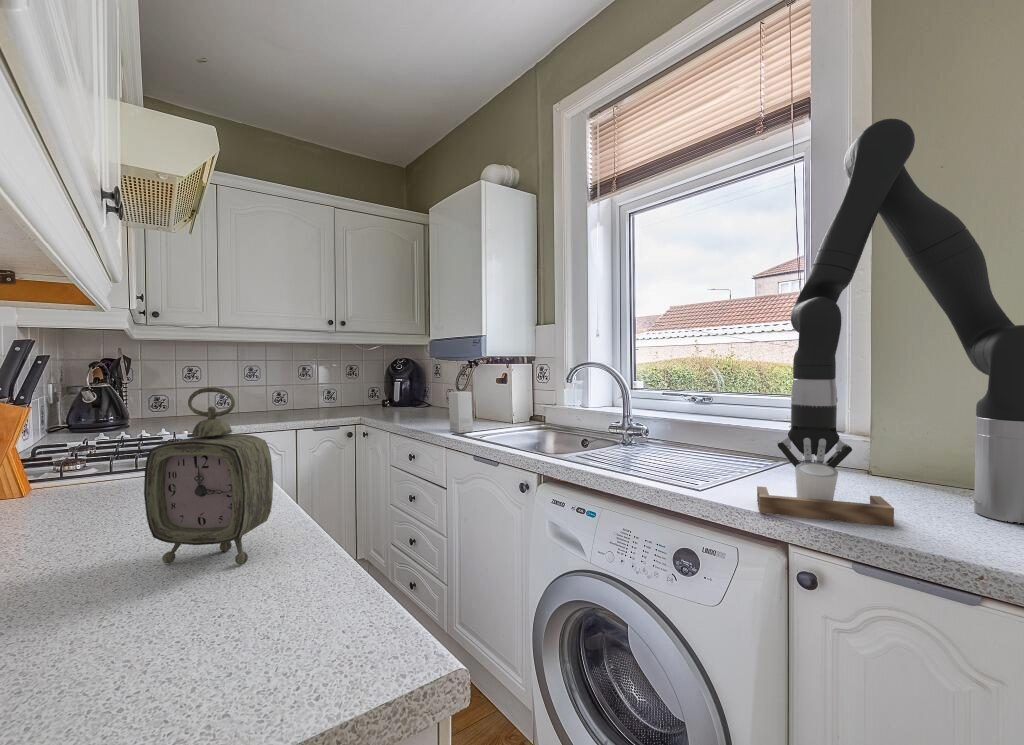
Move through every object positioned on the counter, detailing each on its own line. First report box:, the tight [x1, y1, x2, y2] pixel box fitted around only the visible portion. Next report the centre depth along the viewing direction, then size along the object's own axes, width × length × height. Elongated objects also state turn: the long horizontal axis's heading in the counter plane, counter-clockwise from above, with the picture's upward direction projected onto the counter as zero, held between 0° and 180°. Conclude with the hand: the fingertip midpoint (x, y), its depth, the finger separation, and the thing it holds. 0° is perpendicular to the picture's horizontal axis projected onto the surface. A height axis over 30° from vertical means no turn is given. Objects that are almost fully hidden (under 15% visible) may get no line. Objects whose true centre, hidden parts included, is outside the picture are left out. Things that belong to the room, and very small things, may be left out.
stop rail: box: [756, 485, 895, 527], centre depth 90 cm, size 20×8×3 cm, turn 67°
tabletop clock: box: [143, 387, 274, 565], centre depth 73 cm, size 14×9×25 cm, turn 87°
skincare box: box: [448, 390, 474, 434], centre depth 193 cm, size 8×7×16 cm
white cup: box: [794, 462, 839, 501], centre depth 93 cm, size 7×7×7 cm
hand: (812, 491), depth 97 cm, fingers closed
